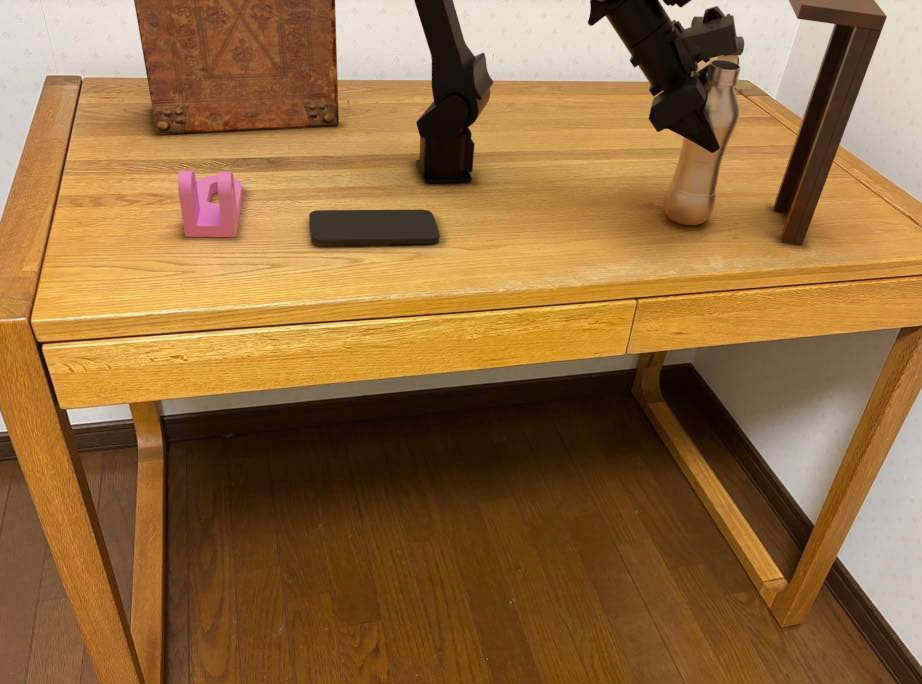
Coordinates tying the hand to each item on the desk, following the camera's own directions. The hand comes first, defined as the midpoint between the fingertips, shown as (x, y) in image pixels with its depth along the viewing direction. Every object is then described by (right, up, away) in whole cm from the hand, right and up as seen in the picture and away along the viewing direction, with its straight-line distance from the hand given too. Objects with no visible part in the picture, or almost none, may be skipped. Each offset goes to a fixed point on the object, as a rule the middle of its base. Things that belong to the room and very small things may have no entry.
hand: (717, 140), depth 104 cm
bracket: (-61, -9, -2) cm, 62 cm away
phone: (-42, -12, -3) cm, 44 cm away
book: (-64, +9, +19) cm, 67 cm away
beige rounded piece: (+5, +14, +35) cm, 38 cm away
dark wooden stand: (+8, -8, +9) cm, 15 cm away
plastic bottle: (-2, -8, +7) cm, 11 cm away
